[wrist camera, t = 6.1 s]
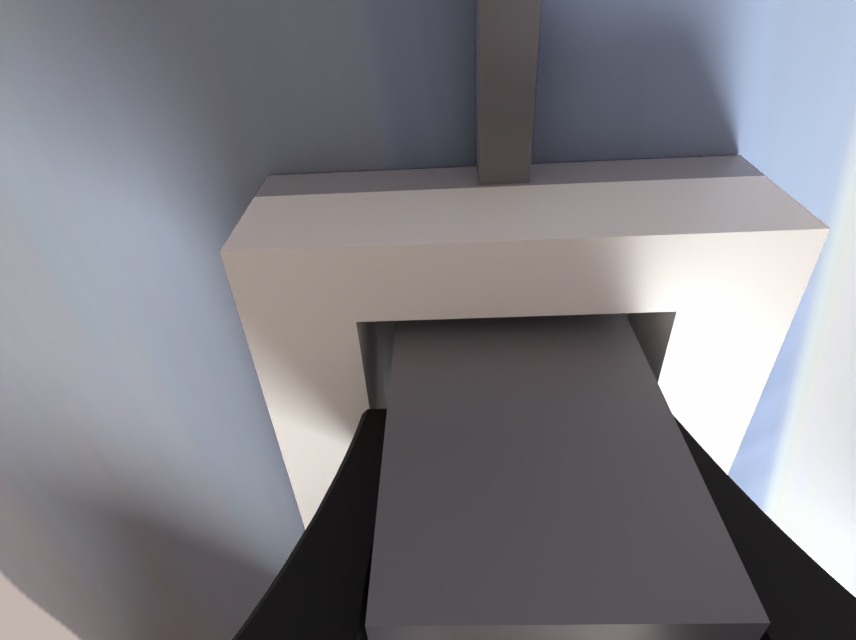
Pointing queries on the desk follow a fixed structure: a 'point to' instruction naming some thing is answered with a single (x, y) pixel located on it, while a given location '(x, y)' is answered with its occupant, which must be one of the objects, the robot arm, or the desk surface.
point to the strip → (515, 266)
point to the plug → (544, 493)
